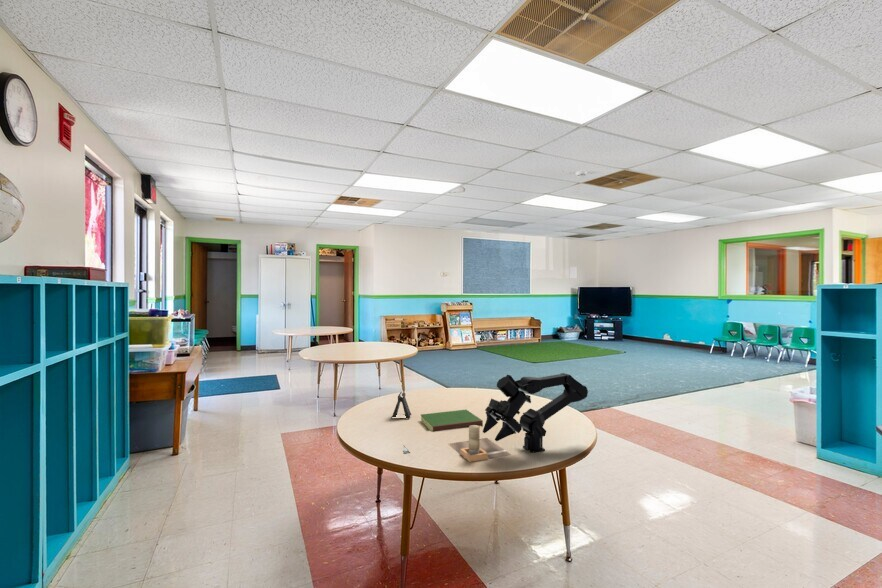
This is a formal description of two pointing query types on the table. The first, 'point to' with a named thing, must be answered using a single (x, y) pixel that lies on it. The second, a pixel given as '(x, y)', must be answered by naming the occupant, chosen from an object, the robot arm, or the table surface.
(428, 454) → the table surface
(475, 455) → the socket
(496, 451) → the clear acrylic sheet
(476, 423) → the hardcover book
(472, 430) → the beige cylinder
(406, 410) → the black a-frame stand
